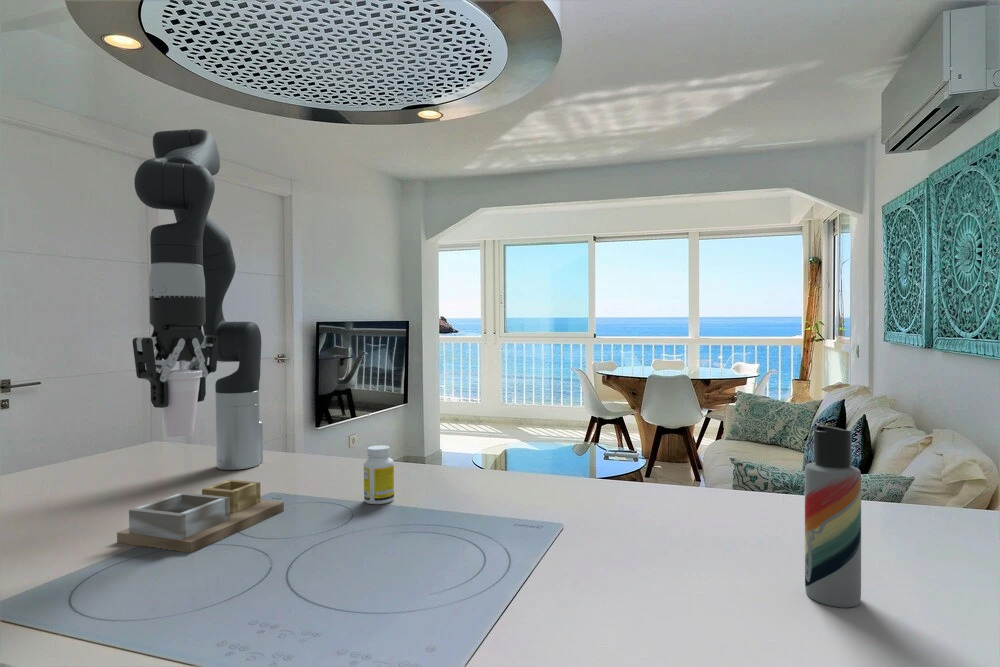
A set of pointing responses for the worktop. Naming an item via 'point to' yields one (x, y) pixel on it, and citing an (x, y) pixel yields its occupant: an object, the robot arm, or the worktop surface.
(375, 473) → the supplement bottle
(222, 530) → the fitting board
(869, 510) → the worktop surface
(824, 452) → the lotion bottle
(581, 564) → the worktop surface
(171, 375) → the smoothie
